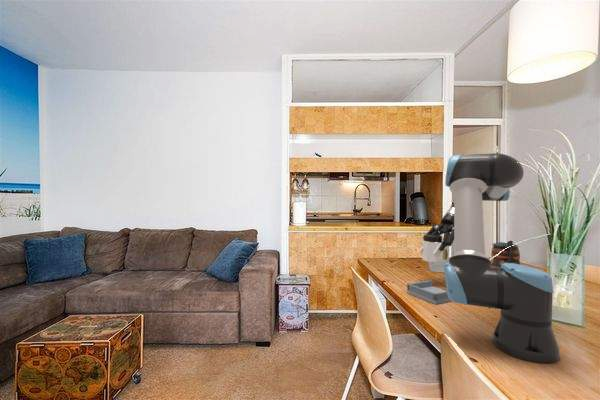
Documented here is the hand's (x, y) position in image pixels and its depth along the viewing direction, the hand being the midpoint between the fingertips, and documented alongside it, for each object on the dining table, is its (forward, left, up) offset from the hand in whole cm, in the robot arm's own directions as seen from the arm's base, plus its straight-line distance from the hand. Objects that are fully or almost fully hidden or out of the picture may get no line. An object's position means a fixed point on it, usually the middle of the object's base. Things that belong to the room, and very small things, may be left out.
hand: (427, 253), depth 144 cm
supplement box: (+18, -28, -16) cm, 37 cm away
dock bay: (-11, +10, -15) cm, 21 cm away
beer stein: (-5, -52, -16) cm, 55 cm away
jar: (0, -3, -4) cm, 5 cm away
